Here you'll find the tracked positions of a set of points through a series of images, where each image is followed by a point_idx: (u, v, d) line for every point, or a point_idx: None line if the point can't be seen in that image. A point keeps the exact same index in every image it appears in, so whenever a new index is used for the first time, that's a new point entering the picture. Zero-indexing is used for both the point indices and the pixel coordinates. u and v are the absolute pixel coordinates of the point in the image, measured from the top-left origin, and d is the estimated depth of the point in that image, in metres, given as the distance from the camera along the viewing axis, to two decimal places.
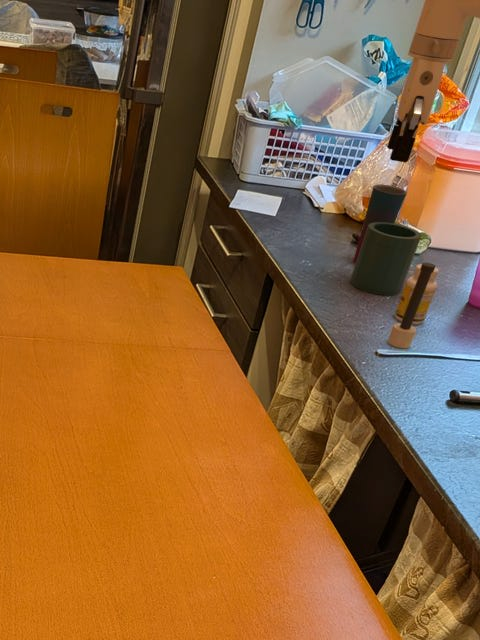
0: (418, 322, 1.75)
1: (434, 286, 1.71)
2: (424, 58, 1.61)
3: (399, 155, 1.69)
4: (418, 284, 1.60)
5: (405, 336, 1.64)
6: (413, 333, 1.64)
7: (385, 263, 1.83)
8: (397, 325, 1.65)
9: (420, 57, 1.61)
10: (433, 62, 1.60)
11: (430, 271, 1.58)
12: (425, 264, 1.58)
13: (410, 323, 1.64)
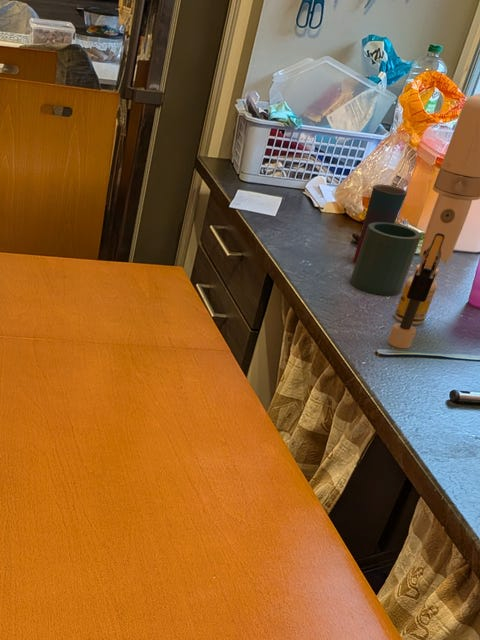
0: (418, 322, 1.75)
1: (434, 286, 1.71)
2: (447, 195, 1.48)
3: (415, 294, 1.59)
4: None
5: (405, 336, 1.64)
6: (413, 333, 1.64)
7: (385, 263, 1.83)
8: (397, 325, 1.65)
9: (443, 193, 1.49)
10: (455, 200, 1.47)
11: None
12: None
13: (410, 323, 1.64)
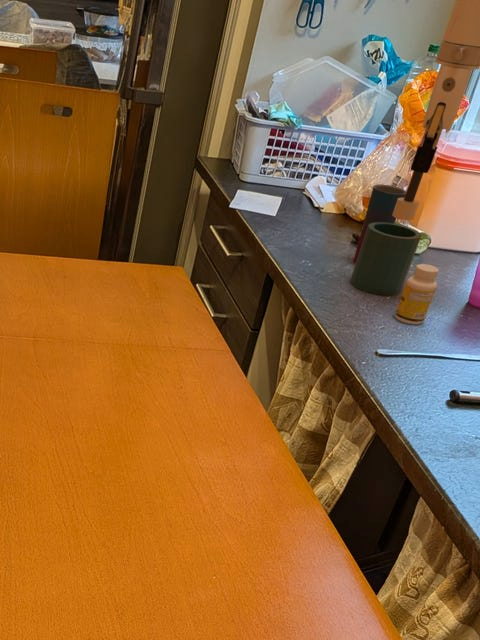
0: (418, 322, 1.75)
1: (434, 286, 1.71)
2: (448, 65, 1.60)
3: (419, 165, 1.72)
4: None
5: (409, 208, 1.76)
6: (416, 205, 1.76)
7: (385, 263, 1.83)
8: (401, 199, 1.78)
9: (444, 64, 1.61)
10: (456, 69, 1.60)
11: None
12: None
13: (413, 195, 1.76)
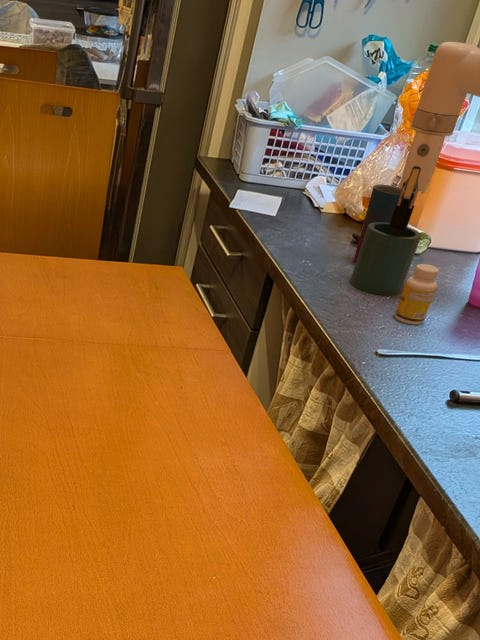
0: (418, 322, 1.75)
1: (434, 286, 1.71)
2: (422, 131, 1.69)
3: (396, 223, 1.80)
4: None
5: None
6: None
7: (385, 263, 1.83)
8: None
9: (419, 130, 1.69)
10: (430, 136, 1.68)
11: None
12: None
13: None
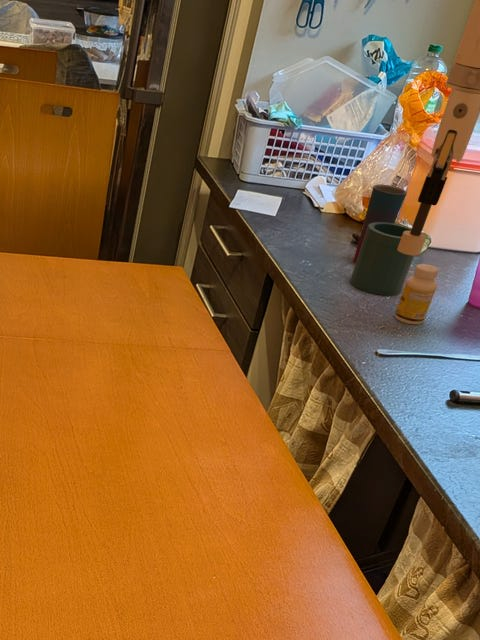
0: (418, 322, 1.75)
1: (434, 286, 1.71)
2: (459, 89, 1.46)
3: (427, 197, 1.57)
4: None
5: (415, 242, 1.62)
6: (423, 239, 1.62)
7: (385, 263, 1.83)
8: (407, 232, 1.64)
9: (455, 88, 1.47)
10: (468, 94, 1.46)
11: None
12: None
13: (420, 229, 1.62)
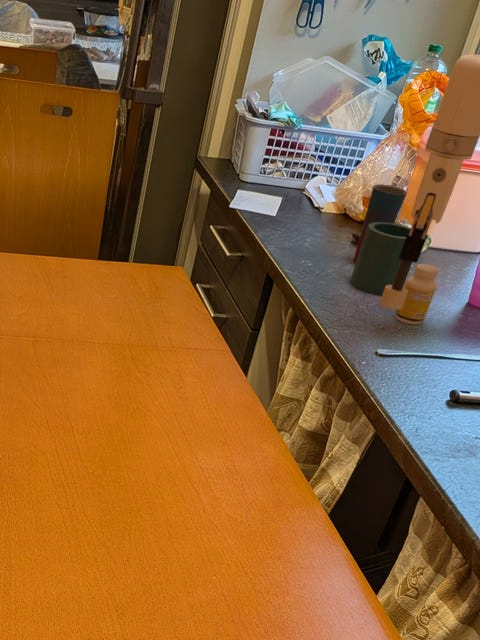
0: (418, 322, 1.75)
1: (434, 286, 1.71)
2: (438, 154, 1.51)
3: (408, 255, 1.62)
4: None
5: (397, 297, 1.67)
6: (405, 294, 1.67)
7: (385, 263, 1.83)
8: (389, 286, 1.68)
9: (434, 153, 1.51)
10: (447, 159, 1.50)
11: None
12: None
13: (402, 284, 1.66)
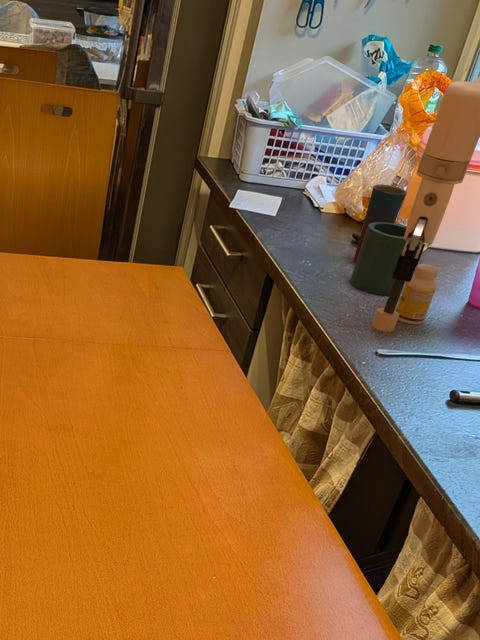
0: (418, 322, 1.75)
1: (434, 286, 1.71)
2: (429, 179, 1.53)
3: (401, 274, 1.61)
4: None
5: (388, 320, 1.70)
6: (396, 317, 1.70)
7: (385, 263, 1.83)
8: (381, 309, 1.71)
9: (426, 177, 1.54)
10: (438, 184, 1.53)
11: None
12: None
13: (393, 307, 1.69)
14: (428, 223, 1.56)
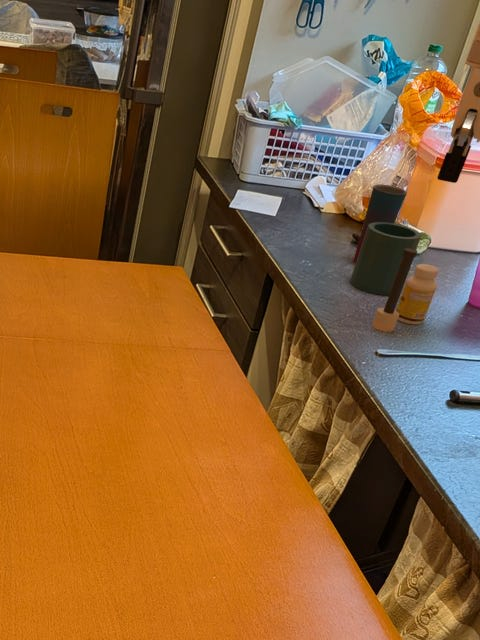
0: (418, 322, 1.75)
1: (434, 286, 1.71)
2: None
3: (447, 174, 1.51)
4: (401, 269, 1.65)
5: (388, 320, 1.70)
6: (396, 317, 1.70)
7: (385, 263, 1.83)
8: (381, 309, 1.71)
9: (476, 66, 1.44)
10: None
11: (412, 256, 1.63)
12: (407, 249, 1.63)
13: (393, 307, 1.69)
14: (478, 116, 1.46)
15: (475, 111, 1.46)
